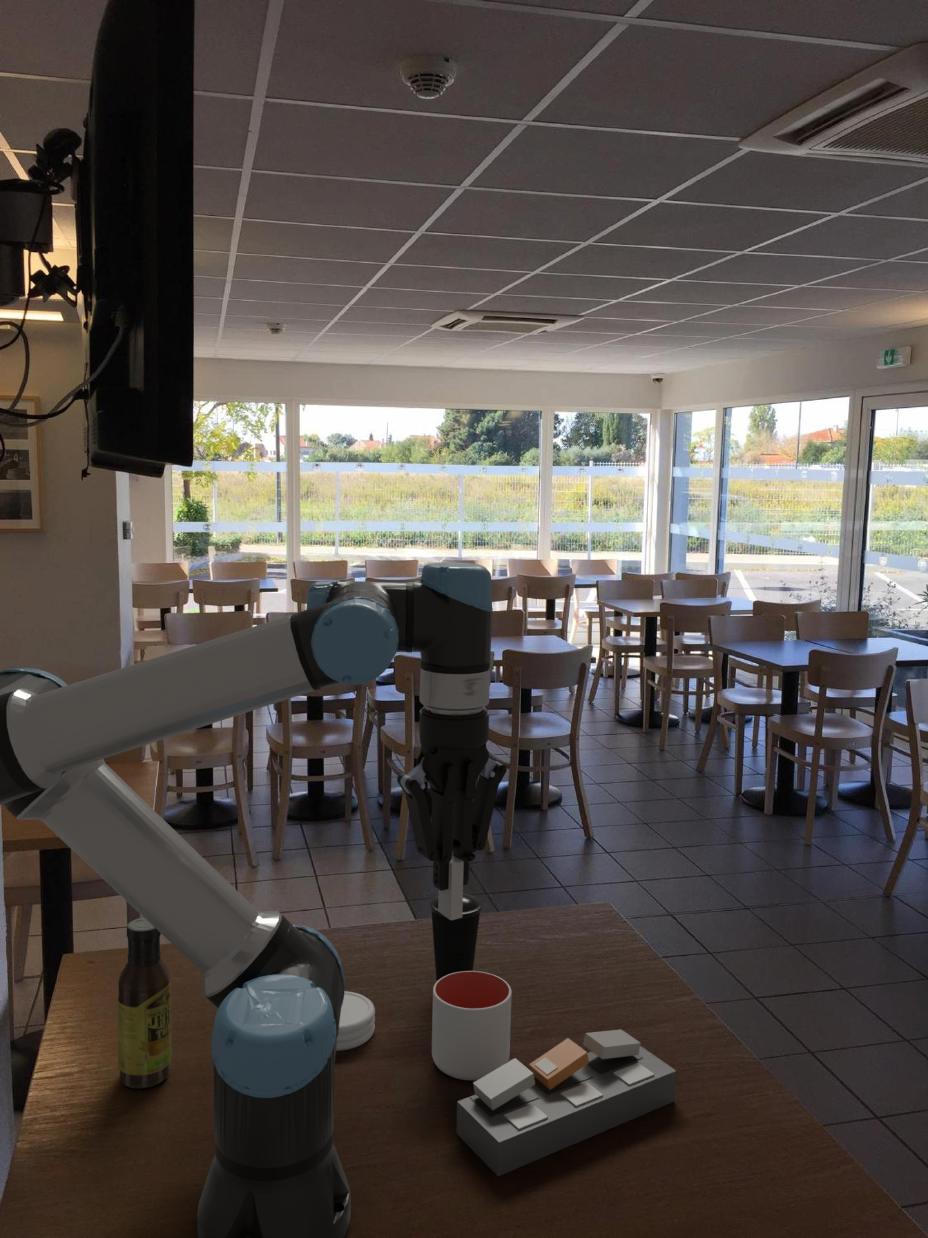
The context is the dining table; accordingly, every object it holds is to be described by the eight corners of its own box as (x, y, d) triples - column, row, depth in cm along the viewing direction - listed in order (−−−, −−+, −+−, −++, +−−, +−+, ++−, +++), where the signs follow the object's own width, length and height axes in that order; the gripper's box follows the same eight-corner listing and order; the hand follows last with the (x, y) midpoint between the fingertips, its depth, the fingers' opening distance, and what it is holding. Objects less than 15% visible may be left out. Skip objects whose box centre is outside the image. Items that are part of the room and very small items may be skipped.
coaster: (321, 1007, 144) (322, 984, 144) (386, 1021, 141) (386, 997, 141) (286, 1044, 135) (286, 1019, 135) (355, 1059, 132) (355, 1034, 131)
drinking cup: (462, 1011, 144) (465, 875, 141) (417, 996, 148) (419, 863, 145) (489, 989, 150) (493, 858, 147) (445, 974, 154) (448, 847, 151)
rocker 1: (492, 1110, 114) (490, 1099, 114) (474, 1094, 117) (473, 1083, 117) (535, 1084, 117) (533, 1073, 117) (516, 1069, 120) (515, 1058, 120)
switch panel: (498, 1176, 110) (499, 1141, 109) (456, 1133, 117) (457, 1100, 116) (674, 1101, 124) (676, 1069, 123) (627, 1067, 131) (629, 1036, 130)
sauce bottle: (156, 1095, 123) (152, 939, 120) (109, 1088, 124) (104, 933, 121) (181, 1066, 129) (178, 916, 126) (136, 1059, 130) (132, 911, 128)
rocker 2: (550, 1090, 119) (547, 1079, 118) (531, 1074, 122) (529, 1063, 121) (589, 1062, 121) (586, 1051, 121) (570, 1048, 124) (567, 1037, 124)
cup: (502, 1090, 126) (504, 1014, 124) (423, 1079, 127) (424, 1004, 126) (514, 1046, 135) (517, 975, 134) (441, 1036, 137) (442, 966, 136)
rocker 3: (602, 1059, 123) (604, 1047, 123) (583, 1045, 126) (585, 1033, 126) (638, 1055, 126) (640, 1043, 126) (618, 1041, 129) (621, 1029, 129)
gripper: (419, 721, 103) (416, 941, 107) (523, 707, 110) (517, 914, 114) (384, 706, 110) (382, 914, 113) (485, 694, 117) (480, 890, 120)
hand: (450, 914), depth 113 cm, fingers closed
